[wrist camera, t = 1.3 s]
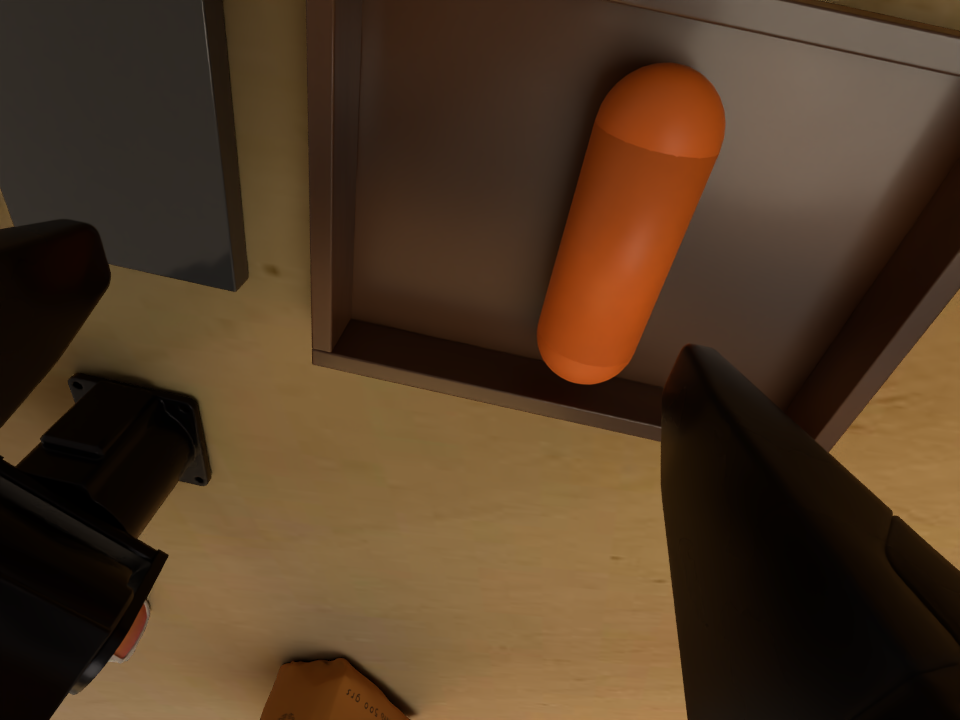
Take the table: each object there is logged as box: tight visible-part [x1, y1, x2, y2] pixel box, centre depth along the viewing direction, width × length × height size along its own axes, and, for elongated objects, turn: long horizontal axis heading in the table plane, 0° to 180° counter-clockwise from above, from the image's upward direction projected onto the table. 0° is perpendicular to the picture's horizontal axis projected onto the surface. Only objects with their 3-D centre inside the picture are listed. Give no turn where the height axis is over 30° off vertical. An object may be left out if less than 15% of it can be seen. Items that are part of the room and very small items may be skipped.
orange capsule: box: [537, 63, 726, 385], centre depth 19 cm, size 11×4×4 cm, turn 171°
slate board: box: [0, 0, 248, 292], centre depth 20 cm, size 14×9×1 cm, turn 171°
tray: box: [306, 0, 960, 453], centre depth 19 cm, size 15×20×3 cm
